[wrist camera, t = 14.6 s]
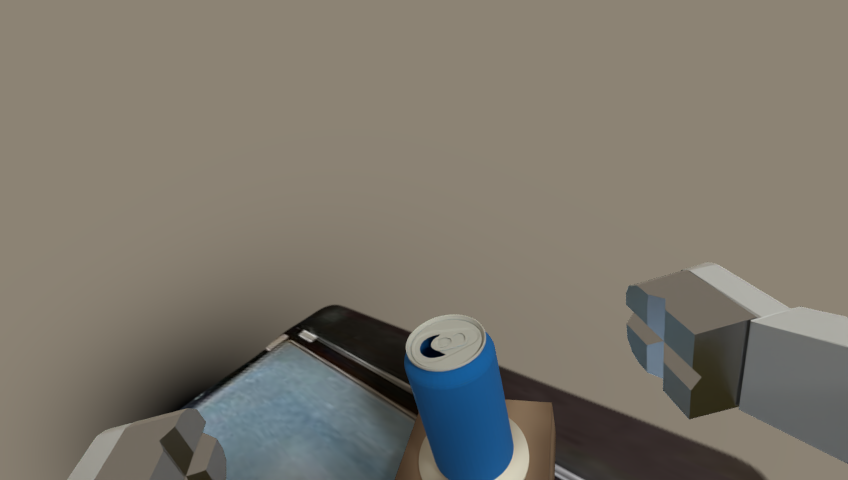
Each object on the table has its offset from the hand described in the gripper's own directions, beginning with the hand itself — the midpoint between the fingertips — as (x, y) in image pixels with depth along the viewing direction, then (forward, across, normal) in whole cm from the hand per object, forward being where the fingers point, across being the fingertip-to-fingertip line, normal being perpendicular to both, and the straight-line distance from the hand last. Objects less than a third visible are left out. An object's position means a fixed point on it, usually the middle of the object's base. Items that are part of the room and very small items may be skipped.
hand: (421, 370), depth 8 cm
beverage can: (+17, -1, +26) cm, 31 cm away
